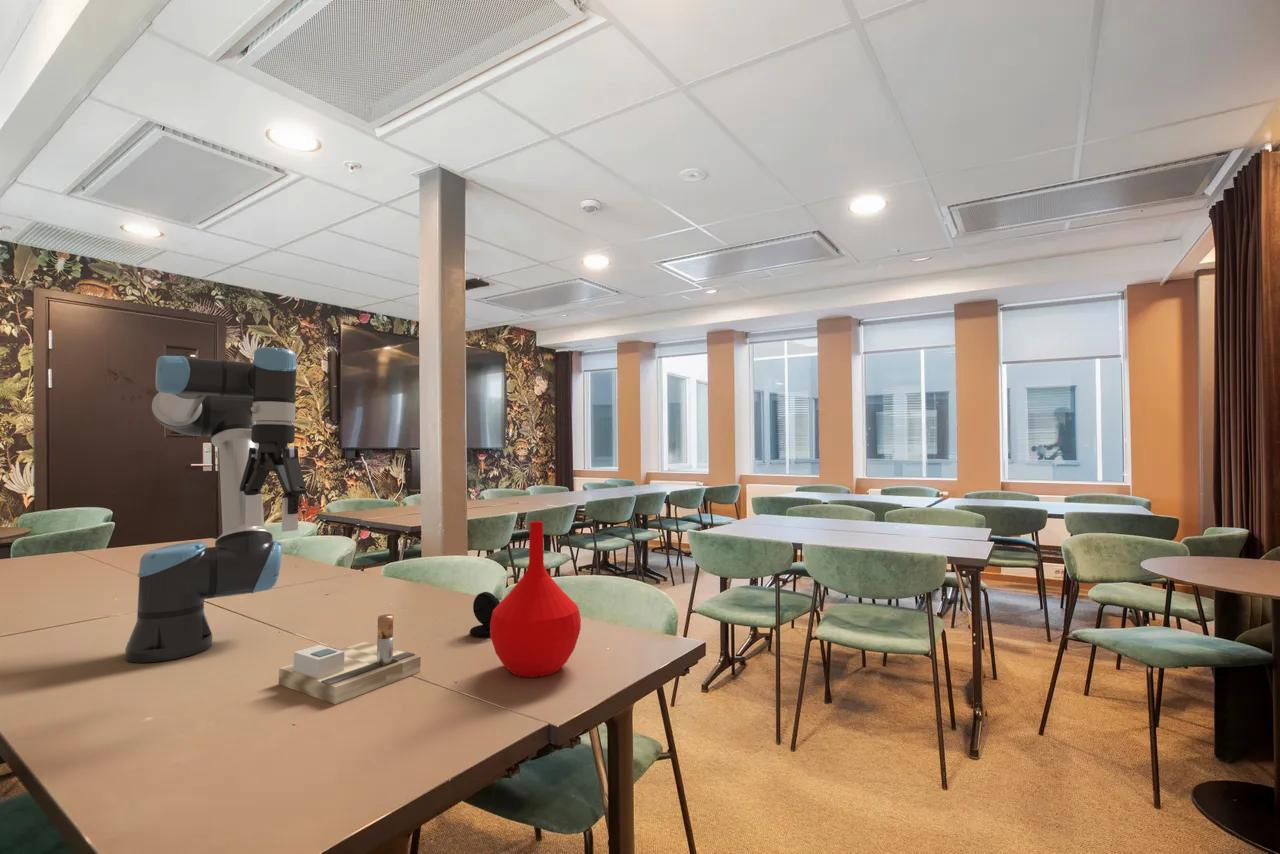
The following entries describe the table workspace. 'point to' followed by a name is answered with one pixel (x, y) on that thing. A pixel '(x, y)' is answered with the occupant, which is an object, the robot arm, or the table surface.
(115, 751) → the table surface
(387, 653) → the silver and copper cylinder
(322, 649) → the block
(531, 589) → the vase
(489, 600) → the webcam
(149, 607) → the robot arm
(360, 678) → the panel
